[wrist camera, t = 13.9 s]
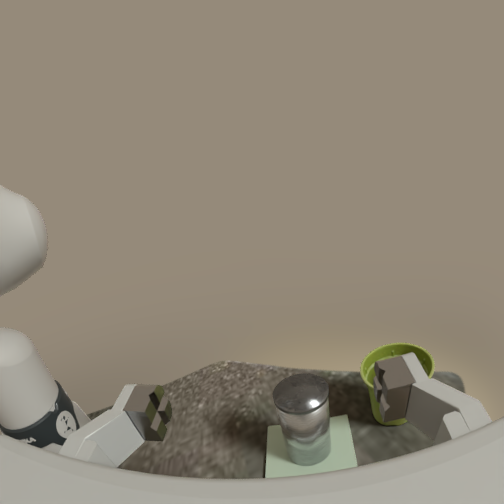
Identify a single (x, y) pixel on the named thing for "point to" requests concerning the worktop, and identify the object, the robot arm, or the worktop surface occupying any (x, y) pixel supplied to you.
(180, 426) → the worktop surface
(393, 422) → the plant pot
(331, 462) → the pad
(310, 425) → the canister
